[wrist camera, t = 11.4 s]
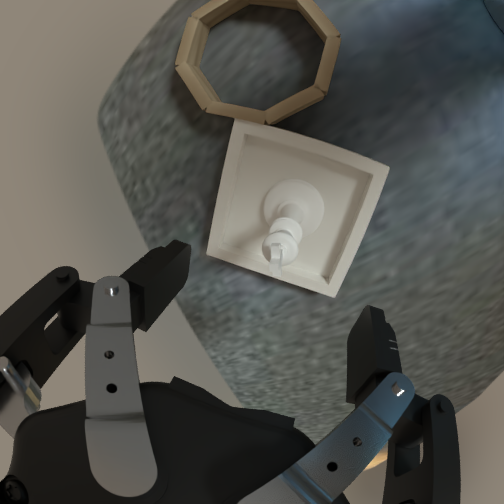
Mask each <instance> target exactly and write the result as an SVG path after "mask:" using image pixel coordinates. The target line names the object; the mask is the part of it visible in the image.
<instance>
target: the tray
mask: <svg viewBox="0 0 504 504" xmlns="http://www.w3.org/2000/svg"><path fill="white" fill-rule="evenodd" d="M389 169H390V167H388V166H387V165H385V164H383V163H381V162H378V161H376V160H373V159H371V158H368V157H366V156H363V155H361V154H358V153H356V152H353V151H350V150H348V149H345V148H342V147H339V146H336V145H334V144H331V143H328V142H325V141H322V140H319V139H316V138H312V137H309V136H306V135H303V134H299V133H296V132H293V131H289V130H286V129H282V128H278V127H275V126H271V125H262V124H258V123H254V122H250V121H246V120H241V119H237V118H235V120H234V124H233V128H232V132H231V137H230V141H229V145H228V150H227V154H226V158H225V163H224V168H223V172H222V177H221V181H220V186H219V191H218V196H217V201H216V206H215V211H214V216H213V221H212V226H211V231H210V237H209V242H208V248H207V253H206V254H207V255H210V256H212V257H215V258H218V259H221V260H224V261H227V262H230V263H233V264H235V265H238V266H241V267H244V268H247V269H250V270H253V271H256V272H259V273H262V274H265V275H268V276H271V277H274V278H276V279H279V280H282V281H285V282H288V283H291V284H294V285H297V286H300V287H303V288H306V289H309V290H313V291H316V292H319V293H322V294H325V295H328V296H331V297H334V298H335V296H336V294H337V292H338V290H339V288H340V286H341V284H342V282H343V280H344V278H345V276H346V273H347V271H348V269H349V267H350V265H351V263H352V261H353V258H354V256H355V254H356V252H357V250H358V247H359V245H360V243H361V240H362V238H363V236H364V234H365V231H366V229H367V226H368V224H369V222H370V219H371V217H372V214H373V212H374V209H375V207H376V204H377V202H378V199H379V196H380V194H381V191H382V188H383V186H384V183H385V180H386V178H387V175H388V172H389ZM286 179H300V180H303V181H306V182H308V183H310V184H311V185H312V186H314V187H315V188H316V189H317V190H318V192H319V193H320V195H321V197H322V199H323V202H324V216H323V219H322V221H321V223H320V225H319V227H318V228H317V229H316V230H315V231H314V232H313V233H312V234H310V235H308V236H306V237H303V238H302V239H301V242H300V243H299V244H298V255H297V257H296V259H295V260H294V261H293V262H292V263H291V264H289V265H286V266H282V275H281V277H278V276H273V273H272V272H270V270H269V262H268V261H267V260H266V259H265V257H264V255H263V253H262V244H263V241H264V239H265V238H266V237H267V236H268V235H269V227H270V226H269V225H268V223H267V221H266V219H265V216H264V210H263V208H264V201H265V197H266V195H267V193H268V191H269V190H270V189H271V188H272V187H273V186H274V185H275V184H277V183H278V182H280V181H283V180H286Z"/></svg>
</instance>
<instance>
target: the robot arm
mask: <svg viewBox="0 0 504 504" xmlns="http://www.w3.org/2000/svg"><path fill="white" fill-rule="evenodd" d="M484 3H485V5H486V7H487V9H488V11H489V13H490V14H491V16H492V18H493V19H494V21H495V22H496V24H497V25H498V26H499V28H500V29H501V30H502V31H503V33H504V0H484ZM190 256H191V245H189V244H186V243H183V242H181V241H178V240H173V241H172V242H171V243H170V244H169V245H167V246H166V247H162V246H161V247H158V248H155V249H152V250H150V251H149V252H148V253H147V254H146V255H144V257H142V258H141V259H140V260H139V261H138V262H136V263H135V264H133V265H132V266H131V267H130V268H129V269H127V270H126V271H125V272H124V273H123V274H122V275H120V276H119V277H117V276H107V277H103V278H101V279H99V280H98V281H97V282H96V283H91V282H87V281H82V280H80V279H79V274H78V271H77V270H76V269H75V268H73V267H69V266H63V267H58V268H56V269H54V270H53V271H51V272H50V273H49V274H47V275H46V276H45V277H44V278H43V279H41V280H40V281H39V282H38V283H37V284H35V285H34V286H33V287H32V288H31V289H29V290H28V291H27V292H26V293H25V294H24V295H23V296H21V297H20V298H19V299H18V300H17V301H16V302H15V303H14V304H13V305H12V306H10V307H9V308H8V309H7V310H6V311H5V312H4V313H3V314H2V315H1V316H0V425H1V426H2V427H3V429H5V430H6V432H7V433H8V434H9V435H10V436H12V437H13V438H14V446H13V456H12V461H11V465H10V468H9V471H8V474H7V475H6V476H5V478H4V479H3V480H2V481H1V482H0V504H350V503H349V502H348V500H347V498H346V497H345V495H344V494H343V491H344V490H345V489H346V488H347V487H348V486H349V485H350V484H351V483H352V482H353V481H354V480H355V478H356V477H357V476H358V475H359V474H360V473H361V472H362V471H363V470H364V469H365V468H366V466H367V465H368V464H369V463H370V462H371V461H372V460H373V458H374V457H375V456H376V455H377V454H378V452H379V451H380V450H381V449H382V447H383V446H384V445H385V444H386V442H387V441H388V457H387V469H386V479H385V487H384V495H383V501H382V504H460V492H461V489H460V488H461V483H460V481H461V478H460V455H459V443H458V434H457V425H456V418H455V411H454V407H453V405H452V403H451V401H450V400H449V399H448V398H447V397H445V396H444V395H441V394H437V395H434V396H433V397H432V398H431V399H430V400H427V399H425V398H423V397H421V396H419V395H417V394H415V389H414V386H413V383H412V382H411V380H410V379H409V378H408V377H407V376H405V375H404V374H402V368H401V362H400V357H399V351H398V346H397V343H396V342H397V341H396V336H395V332H394V330H393V329H392V327H391V325H390V324H389V323H386V321H385V316H384V311H383V310H382V309H379V308H376V307H373V306H370V305H367V306H366V307H365V308H364V309H363V311H362V313H361V314H360V316H359V318H358V319H357V321H356V323H355V324H354V326H353V328H352V329H351V331H350V334H349V336H348V341H347V392H346V402H347V403H352V404H355V409H354V410H353V411H352V412H351V413H350V414H349V415H348V416H347V417H346V418H345V419H344V420H343V421H342V422H341V423H340V424H339V425H337V426H336V427H335V428H334V429H333V430H332V431H331V432H330V433H329V434H327V435H326V436H325V437H324V438H323V439H322V440H320V441H319V442H318V443H317V444H316V445H315V444H314V443H313V442H312V441H311V440H310V439H309V437H307V436H306V435H305V434H304V433H303V432H301V431H299V430H298V429H296V428H294V427H293V425H294V421H295V418H292V417H288V416H284V415H280V414H277V413H273V412H270V411H266V410H257V409H247V408H237V407H232V406H229V405H228V404H226V403H224V402H223V401H221V400H220V399H218V398H217V397H215V396H213V395H212V394H211V393H209V392H207V391H206V390H205V389H203V388H201V387H198V386H196V385H194V384H191V383H189V382H187V381H184V380H182V379H180V378H177V377H175V376H174V377H173V379H172V381H171V382H170V383H165V382H144V383H140V380H139V375H138V368H137V361H136V354H135V345H134V336H133V333H134V331H135V330H136V329H137V328H139V329H141V330H143V331H145V332H147V330H148V329H149V328H150V327H151V325H152V324H153V323H154V322H155V320H156V319H157V318H158V317H159V315H160V314H161V313H162V312H163V311H164V309H165V308H166V307H167V306H168V304H169V303H170V302H171V301H172V300H173V298H174V297H175V296H176V295H177V294H178V292H179V291H180V290H181V289H182V288H183V286H184V285H185V283H186V280H187V277H188V273H189V264H190ZM56 313H57V314H58V317H57V318H56V319H55V320H54V321H53V322H52V323H51V324H50V325H49V326H48V327H47V328H46V329H45V330H44V327H45V325H46V323H47V322H48V321H49V320H50V319H51V318H52V317H53V316H54V315H55V314H56ZM85 333H86V341H85V395H86V400H82V401H79V402H75V403H71V404H67V405H63V406H59V407H55V408H51V409H46V410H41V411H38V410H39V409H40V401H41V390H40V389H41V388H42V386H43V385H44V384H45V383H46V381H47V380H48V379H49V377H50V376H51V375H52V374H53V372H54V371H55V370H56V368H57V367H58V366H59V365H60V363H61V362H62V361H63V360H64V358H65V357H66V356H67V355H68V354H69V352H70V351H71V350H72V349H73V347H74V346H75V345H76V344H77V343H78V341H79V340H80V339H81V338H82V337H83V336H84V335H85ZM422 442H423V460H422V462H421V464H420V443H422Z"/></svg>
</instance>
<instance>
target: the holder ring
mask: <svg viewBox="0 0 504 504" xmlns="http://www.w3.org/2000/svg"><path fill="white" fill-rule="evenodd" d="M250 4H255V5H264V6H272V7H279V8H286V9H292V10H297V11H299V12H300V13H301V14H302V15H303V17H304V18H305V19H306V20H307V21H308V23H309V24H310V25H311V26H312V28H313V29H314V30H315V32H316V33H317V34H318V35H319V37H320V38H321V39H322V41H323V42H324V43H325V47H324V50H323V54H322V58H321V62H320V65H319V69H318V73H317V76H316V80H315V83H314V85H313V86H311V87H309V88H307V89H305V90H303V91H301V92H299V93H297V94H295V95H293V96H291V97H289V98H287V99H285V100H283V101H282V102H280V103H278V104H276V105H274V106H272V107H271V108H269V109H267V110H265V111H261V110H256V109H252V108H247V107H242V106H238V105H232V104H227V103H222V102H221V100H220V99H219V97H218V96H217V94H216V92H215V91H214V89H213V88H212V86H211V85H210V83H209V82H208V80H207V79H206V77H205V76H204V74H203V73H202V71H201V70H200V68H199V66H200V62H201V59H202V55H203V51H204V48H205V44H206V41H207V38H208V34H209V31H210V28H211V27H212V26H214V25H216V24H217V23H219V22H220V21H222V20H224V19H225V18H227V17H228V16H230V15H232V14H234V13H235V12H237V11H239V10H241V9H242V8H244V7H246V6H248V5H250ZM192 16H193V17H189V18H188V21H187V24H186V27H185V30H184V33H183V37H182V40H181V43H180V47H179V50H178V54H177V58H176V62H175V65H177V67H176V68H175V69H176V70H177V72H178V73H179V75H180V76H181V78H182V79H183V81H184V82H185V84H186V86H187V87H188V89H189V90H190V92H191V93H192V95H193V96H194V98H195V100H196V101H197V103H198V104H199V106H200V107H201V109H202V110H205V111H206V113H212V114H217V115H222V116H227V117H232V118H237V119H241V120H246V121H250V122H254V123H258V124H262V125H270V124H272V125H274V124H276V123H278V122H280V121H282V120H283V119H285V118H287V117H289V116H291V115H293V114H295V113H297V112H299V111H301V110H303V109H305V108H307V107H309V106H311V105H313V104H315V103H317V102H319V101H321V100H323V99H324V95H325V96H326V95H327V92H328V88H329V85H330V81H331V77H332V74H333V70H334V66H335V62H336V59H337V55H338V51H339V47H340V43H341V38H340V35H341V34H340V33H339V32H338V30H337V29H336V28H335V27H334V25H333V24H332V23H331V21H330V20H329V19H328V18H327V17H326V15H325V14H324V13H323V12H322V11H321V9H320V8H319V7H318V6H317V5H316V4H315V2H314V1H313V0H211V1H210V2H208V3H207V4H205V5H204V6H202V7H201V8H199V9H198V10H196V11H195V12H193V13H192Z"/></svg>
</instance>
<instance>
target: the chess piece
mask: <svg viewBox="0 0 504 504" xmlns="http://www.w3.org/2000/svg"><path fill="white" fill-rule="evenodd" d="M263 210H264V216H265V219H266V221H267V223H268V225H269V226H270V227H269V235H268V236H267V237H266V238H265V239H264V241H263V244H262V253H263V255H264V257H265V259H266V260H267V261H268V262H269V270H270V272H272V273H273V276H278V277H281V275H282V266H286V265H289V264H291V263H292V262H293V261H294V260H295V259H296V257H297V255H298V244H299V243H300V242H301V239H302V238H303V237H306V236H308V235H310V234H312V233H313V232H314V231H315V230H316V229H317V228H318V227H319V225H320V223H321V221H322V219H323V216H324V202H323V199H322V197H321V195H320V193H319V192H318V190H317V189H316V188H315V187H314V186H312V185H311V184H310V183H308V182H306V181H303V180H300V179H286V180H283V181H280V182H278V183H277V184H275V185H274V186H273V187H272V188H271V189H270V190H269V191H268V193H267V195H266V197H265V201H264V208H263Z"/></svg>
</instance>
